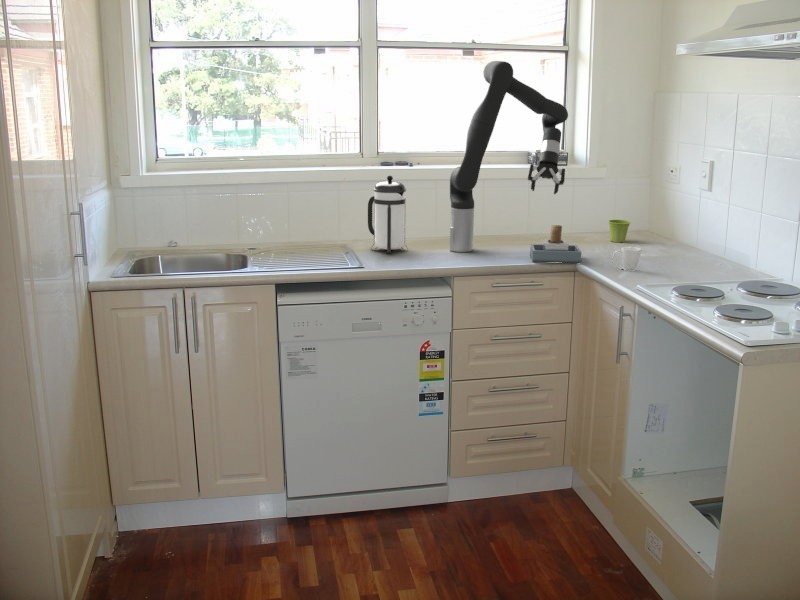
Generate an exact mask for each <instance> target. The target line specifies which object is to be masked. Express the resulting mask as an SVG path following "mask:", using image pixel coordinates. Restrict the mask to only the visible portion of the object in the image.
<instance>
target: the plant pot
mask: <svg viewBox="0 0 800 600" xmlns="http://www.w3.org/2000/svg"><path fill="white" fill-rule="evenodd" d="M607 222H608V225H609V236H610V237H609V240H610V242H613V243H618V242H619V243H625V242H626V238H627V233H628V230H629V227H630V224H631V223H632V221H629V220H626V219H625V220H624V219H608V221H607Z"/></svg>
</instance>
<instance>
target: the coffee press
mask: <svg viewBox="0 0 800 600" xmlns="http://www.w3.org/2000/svg"><path fill="white" fill-rule="evenodd" d="M393 179H394V177H393V176H392V175H388V176H387V177H386V181H380V182H378V183H376V184H375V186H374V187H373V192H374V195H373V196H371V197H370V198H369V200H368V202H367V227H368V230H369V233H370V234H371V235H372V236H373V239H374V243H373V244H372V245H371V247H370V250H371V251H375V250H376V249H380V250H386V251H387V252H386V255H391V254H392V252H391V250H399V249H402V250H404V251H405V252H408V249H409V247H408V246H407V244H406V243H405V240H406V191H407V189H406V187H405V185H404V184H403V183H402V182H399V181H393ZM373 207H374V224H373ZM374 246H375V248H374V249H372V248H373V247H374ZM404 246H405V247H406V248H407V249H405V248H404Z"/></svg>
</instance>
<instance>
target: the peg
mask: <svg viewBox="0 0 800 600" xmlns="http://www.w3.org/2000/svg"><path fill="white" fill-rule="evenodd" d="M562 231H563V226H562V225H559V224H558V225H557V224H553V225H550V237H549V238H550V243H561V240H562Z"/></svg>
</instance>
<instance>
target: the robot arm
mask: <svg viewBox="0 0 800 600" xmlns="http://www.w3.org/2000/svg"><path fill="white" fill-rule="evenodd" d="M482 72H483V73H482V74H483V78H484V80H485V81H486V82H487V83H488V84H489V85H488V89H487V92H486V95H485V96H484V98H483V100H482V102H481V103H480V104H479V106H478V107H477V109H476V110H475V111H474V112H473V115H472V117H471V120H470V124H469V126H468V129H467V134H466V145H465V153H464V157H463V159H462V161H461V165H460V166H458V167H455V168H454V169H453V170H452V171H451V174H450V177H449V199H450V228H449V229H450V230H449V251H450V252H457V253H458V252H459V253H465V252H466V253H467V252H472V251H473V249H474V224H475V223H474V222H475V221H474V220H475V219H474V218H475V200H474V197H473V196H474V195H473V190H474V188H475V187H476V185H477V183H478V179H479V176H480V170H481V165H482V162H483V159H484V156H485V153H486V150H487V148H488V146H489V143H490V139H491V137H492V134H493V131H494V129H495V126H496V121H497V118H498V117H499V113H500V111H501V110H500V109H501V108H502V104H503V102H504V99H505V96H506V94H508V95H510V96H512V97H513V98H515V100H517V101H519V102H521V104H523V105H524V106H526V107H527V108H528V109H530V110H531V111H532V112H533V113H535V114H536V115H541V116H542V117H541V123H542V131H543V132H542V133H543V136H542V143H541V147H540V151H539V159H538V164H537V165H534V164H530V166H529V171H528V175H527V180H528V181H529V182H531V186H530V189H531V191H532V192H534V191H535V187H536V181H538V180H539V179H540V178H542V179H548V180H550V179H551V180H552V182H553V183H554V190H553V195H556V194H558V192H559V187H560V186H562V185H564V183H565V179H566V178H565V177H566V169H565V168H562V169H561V168H558V165H559V158H560V150H561V141H562V139H561V138H562V131H561V130H560V129H559V128H557V127H556V126H558V125H560V124H563V123H564V122H566V121H567V120H568V117H569V112H568V110H567V108H566V107H565V106H564V105H563V104H561V103H559V102H557V101H555V100H551V99H548V98H547V97H546V96H544V95H543V94H541V92H539V91H538V90H536V89H534V88H533V87H531V86H529V85H527V84H525V83H523V82H521V81H520V80H518V78H517V79H516V77H514V68H513V66H512V65H511V63H509V62H507V61H503V60H493V61H490V62H488V63H486V65H485V66H484V68H483V71H482ZM535 170H536V171H537V172H536V175H534V176H532V175H533V172H535ZM557 173H559V175H560V180H559V178H558V176H557Z"/></svg>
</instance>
